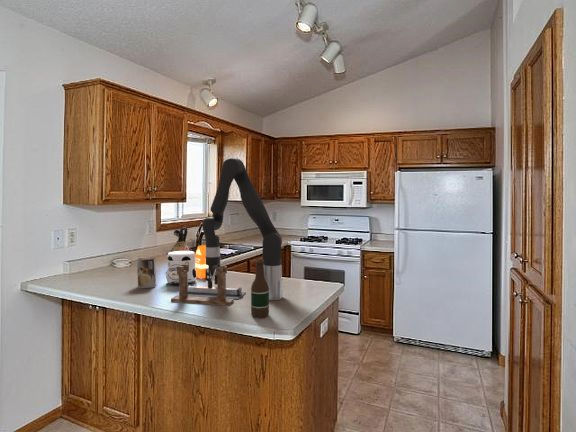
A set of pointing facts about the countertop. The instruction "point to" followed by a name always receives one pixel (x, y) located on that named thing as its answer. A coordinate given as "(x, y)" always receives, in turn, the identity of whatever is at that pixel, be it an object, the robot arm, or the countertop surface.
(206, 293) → the grey long flat board
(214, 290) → the steel rail
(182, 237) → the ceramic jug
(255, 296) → the beer bottle
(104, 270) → the countertop surface
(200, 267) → the orange juice
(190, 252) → the milk container
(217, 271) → the walnut rack
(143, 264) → the coffee box
